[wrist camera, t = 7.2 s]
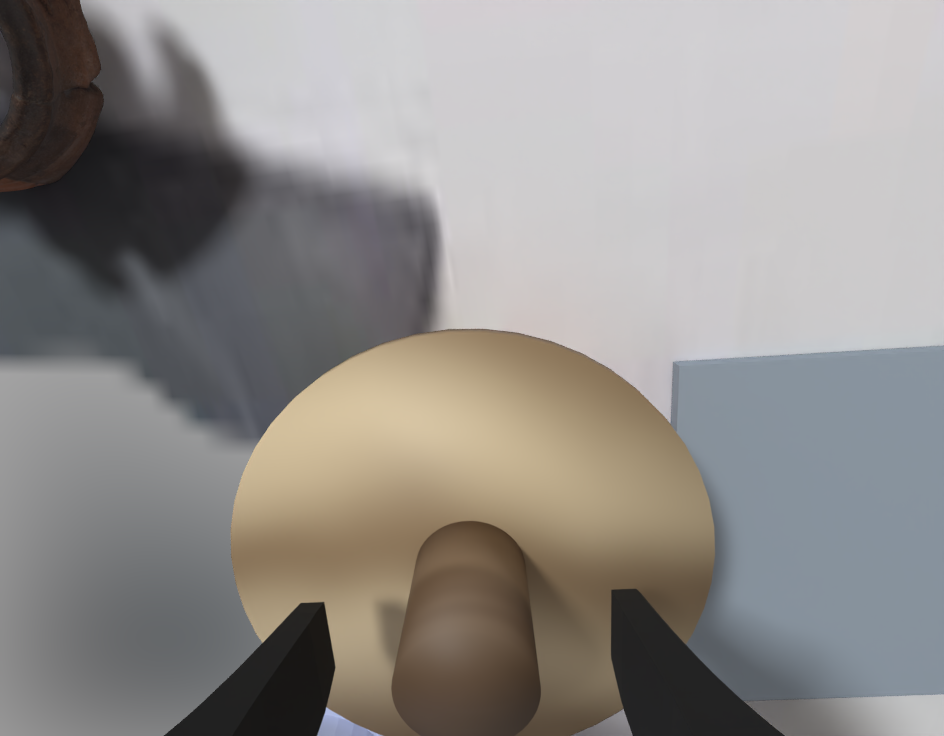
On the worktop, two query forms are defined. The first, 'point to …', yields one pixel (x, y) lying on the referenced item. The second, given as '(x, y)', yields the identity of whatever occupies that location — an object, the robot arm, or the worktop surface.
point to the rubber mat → (821, 520)
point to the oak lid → (471, 531)
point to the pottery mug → (47, 91)
